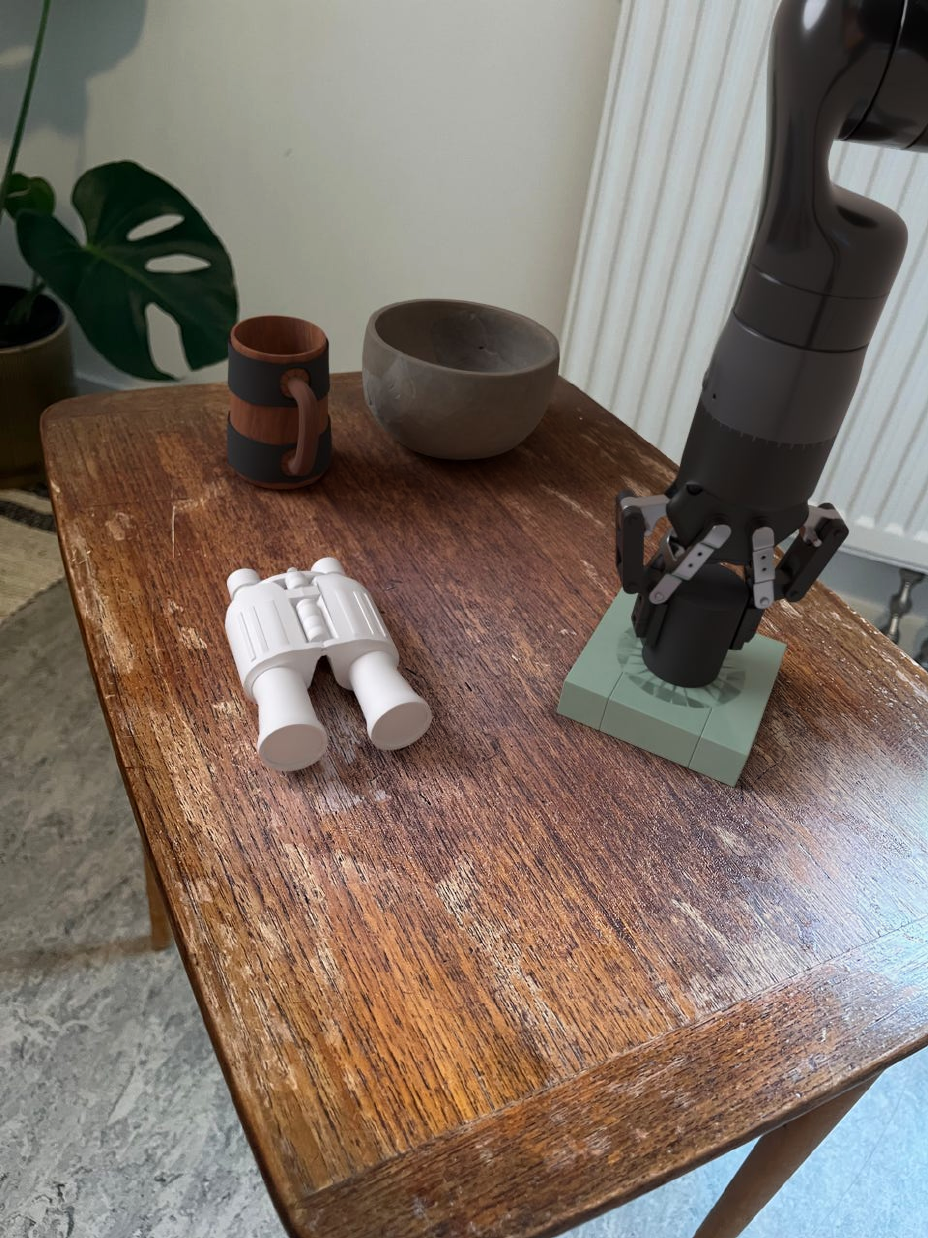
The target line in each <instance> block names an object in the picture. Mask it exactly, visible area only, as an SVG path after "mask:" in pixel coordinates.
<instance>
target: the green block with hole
mask: <svg viewBox="0 0 928 1238" xmlns="http://www.w3.org/2000/svg"><path fill="white" fill-rule="evenodd" d="M637 595H638V593H636V594H627V593H625V592H624V590H623V587H622V586H621V588H620V590H619V591H618V593H617V595H616V596H615V597H614V599H613V601H612V602H611V604H610V605H609V607H608V609H607V610H606V613H605V614H604V615H603V617H602V619H601V621H600V622H599V623H598V625H597V627H596V628H595V630H594V631H593V633H592V635H591V637H590V638H589V640H588V641H587V643H586V645H585V646H584V648H583V649H582V651H581V653H580V654H579V655H578V657H577V659H576V660H575V662H574V664H573V665H572V667H571V669H570V670H569V672H568V674H567V675H566V677H565V678H564V680H563V683H562V688H561V692H560V696H559V700H558V704H557V708H556V714H558V715H561V716H563V717H566V718H568V719H569V720H572V721H575V722H577V723H579V724H582V725H584V726H587V727H590V728H591V729H594V730H596V731H600V732H601V733H604V734H606V735H608V736H611V737H613V738H615V739H618V740H621V742H625V743H628V744H630V745H631V746H635V747H636V748H639V749H642V750H644V751H646V752H648V753H651V754H653V755H656V756H658V757H661V758H663V759H665V760H668V761H670V762H672V763H675V764H677V765H680V766H682V767H684V768H687V769H690V770H691V771H694V772H696V773H698V774H701V775H703V776H706V777H707V778H711V779H712V780H715V781H718V782H720V783H722V784H725V785H727V786H729V787H731V788H735V787H736V785H737V782H738V780H739V778H740V776H741V775H742V774H741V773H742V772H743V770H744V767H745V765H746V762H747V761H748V758H749V756H750V754H751V750H752V749H753V745H754V742H755V739H756V737H757V734H758V731H759V728H760V724H761V723H762V719H763V717H764V713H765V710H766V707H767V705H768V701H769V699H770V696H771V693H772V690H773V688H774V685H775V682H776V679H777V676H778V673H779V671H780V668H781V664H782V662H783V659H784V656H785V653H786V651H787V648H788V644H787V643H784V642H781V641H779V640H776V639H774V638H770V637H768V636H766V635H762V634H761V633H757V632H756V633H755V636H754V637H753V639H752V640H751V641H750V642H749V643H744V645H743V648H742V649H741V650H729V649H728V652H727V654H726V657H725V659H724V662H723V665H722V667H721V670H720V672H719V675H718V677H717V678H716V679H715V680H714V681H713V682H712V683H710V684H708V685H706V686H703V687H697V688H686V687H680V686H676V685H673V684H670V683H667V682H665V681H663V680H661V679H660V678H658V677H657V676H655V675H654V674H653V673H652V672H651V671H650V670H649V669H648V668H647V667H646V665H645V663H644V661H643V659H642V647H643V646H642V643H641V640H640V638H637V637H636V634H635V631H634V628H633V624H632V620H631V615H632V612H633V608H634V606H635V602H636V598H637Z"/></svg>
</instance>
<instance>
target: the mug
mask: <svg viewBox="0 0 928 1238" xmlns="http://www.w3.org/2000/svg"><path fill="white" fill-rule="evenodd" d="M227 351H228V353H227V355H228V359H227V361H228V362H227V387H228V389H229V397H230V398H229V401H230V406H229V407H230V408H229V409H230V410H229V411H228V413H227V420H226V453H227V461H228V463H229V465H230V466H231V468H233V470H234V471H235V472H236V474H237V475H238V476H239V477H240V478H241V479H243V480H244V481H245V482H247V483H249V484H251V485H254V486H256V487H261V488H263V489H270V490H292V489H300V488H303V487H306V486H309V485H312V484H313V483H315V482H316V481H318V480H319V479H320V478H321V477H322V476H323V475H324V473H325V472H326V471H327V470H328V469H329V468H330V466H331V463H332V457H333V442H332V441H333V438H332V437H333V436H332V420H331V415H330V414H329V395H328V394H329V392H330V390H331V377H330V341H329V338H328V337H327V336H326V333H325V332H324V330H323V329H322V328H321V327H319V326H318V325H316V324H314V323H313V322H311V321H308V320H305V319H302V318H298V317H295V316H288V315H280V314H279V315H278V314H273V315H272V314H269V315H268V314H267V315H258V316H251V317H249V318H246V319H245V318H244V319H243V320H240V321H239V322H238V323H236V324H235V325H234V326H233V327H232V329H231V330H230V332H229V333H228V336H227Z"/></svg>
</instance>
